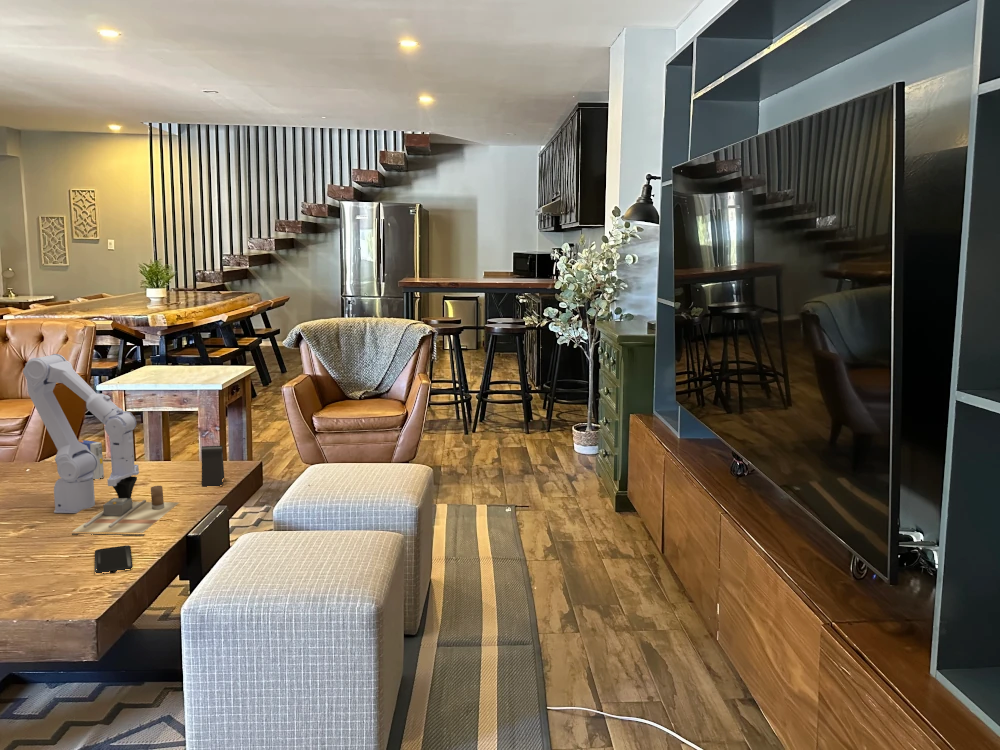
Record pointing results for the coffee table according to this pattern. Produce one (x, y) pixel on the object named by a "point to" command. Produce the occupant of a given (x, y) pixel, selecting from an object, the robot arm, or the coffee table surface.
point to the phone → (113, 559)
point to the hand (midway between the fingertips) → (125, 503)
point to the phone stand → (212, 466)
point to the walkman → (97, 451)
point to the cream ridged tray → (126, 520)
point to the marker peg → (157, 497)
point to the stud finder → (117, 506)
